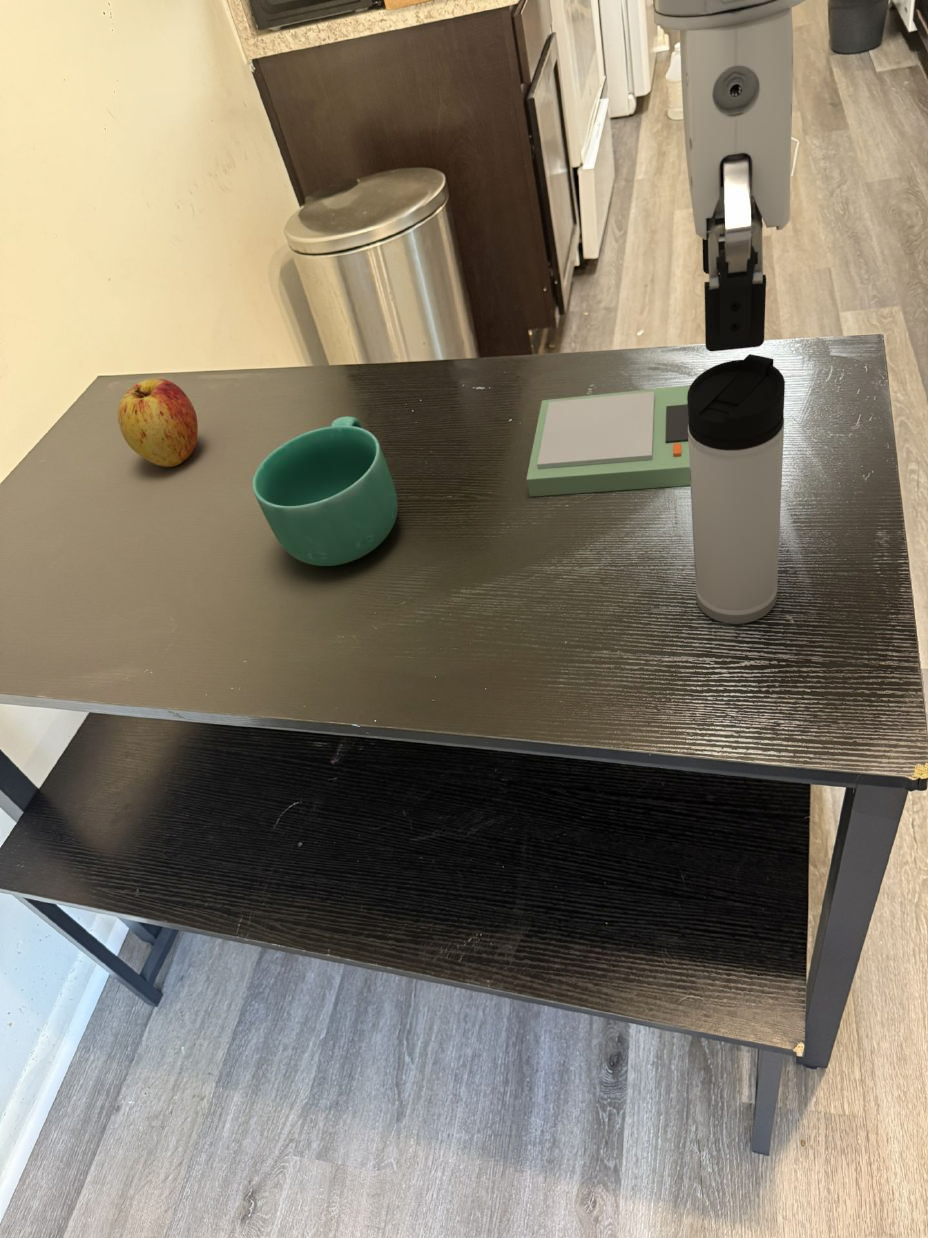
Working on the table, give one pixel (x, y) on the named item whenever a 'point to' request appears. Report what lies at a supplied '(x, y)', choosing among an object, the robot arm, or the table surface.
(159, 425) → the apple
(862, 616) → the table surface
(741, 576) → the travel mug
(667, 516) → the table surface
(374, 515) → the mug
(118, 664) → the table surface
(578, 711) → the table surface
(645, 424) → the scale
